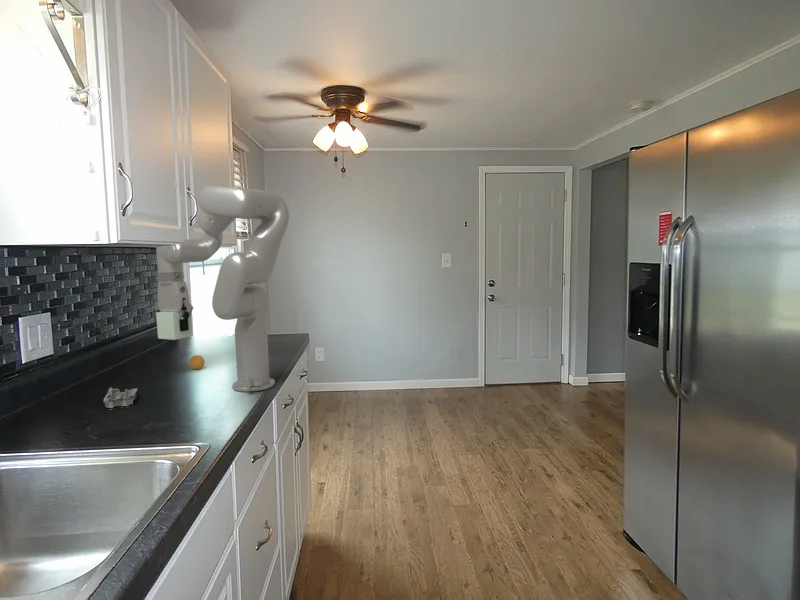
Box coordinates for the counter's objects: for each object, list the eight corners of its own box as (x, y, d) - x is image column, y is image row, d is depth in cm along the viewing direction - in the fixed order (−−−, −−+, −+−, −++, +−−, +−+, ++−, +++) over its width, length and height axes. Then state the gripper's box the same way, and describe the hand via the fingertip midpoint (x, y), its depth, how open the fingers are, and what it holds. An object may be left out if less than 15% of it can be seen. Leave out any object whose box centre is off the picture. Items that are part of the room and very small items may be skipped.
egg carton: (111, 400, 143) (110, 386, 142) (140, 397, 145) (138, 383, 144) (101, 411, 133) (99, 396, 132) (132, 408, 135) (130, 393, 134)
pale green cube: (174, 339, 161) (172, 313, 160) (158, 338, 163) (156, 312, 163) (192, 335, 168) (190, 310, 167) (176, 334, 170) (174, 309, 169)
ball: (209, 358, 176) (202, 370, 173) (204, 361, 179) (197, 373, 177) (196, 351, 174) (189, 363, 171) (191, 354, 177) (184, 366, 174)
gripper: (199, 277, 163) (203, 329, 165) (161, 277, 170) (165, 327, 172) (182, 278, 157) (186, 333, 159) (142, 278, 163) (146, 331, 165)
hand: (175, 329), depth 165 cm, fingers closed on pale green cube, 7 cm apart
